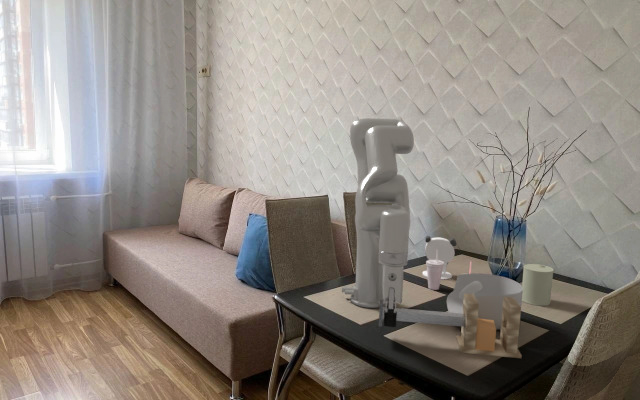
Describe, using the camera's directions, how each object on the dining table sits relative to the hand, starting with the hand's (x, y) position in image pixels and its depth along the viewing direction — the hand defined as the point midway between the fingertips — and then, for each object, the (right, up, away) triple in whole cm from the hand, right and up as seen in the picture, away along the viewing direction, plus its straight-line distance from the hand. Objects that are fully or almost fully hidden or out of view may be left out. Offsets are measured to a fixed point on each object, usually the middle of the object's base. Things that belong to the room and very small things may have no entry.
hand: (389, 323), depth 119 cm
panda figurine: (+28, +3, +56) cm, 63 cm away
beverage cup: (+30, -1, +28) cm, 41 cm away
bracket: (+25, -6, -3) cm, 26 cm away
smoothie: (+22, +1, +41) cm, 47 cm away
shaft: (+8, 0, -1) cm, 8 cm away
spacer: (+24, -5, -4) cm, 25 cm away
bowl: (+30, -4, +14) cm, 33 cm away
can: (+54, -1, +31) cm, 62 cm away
